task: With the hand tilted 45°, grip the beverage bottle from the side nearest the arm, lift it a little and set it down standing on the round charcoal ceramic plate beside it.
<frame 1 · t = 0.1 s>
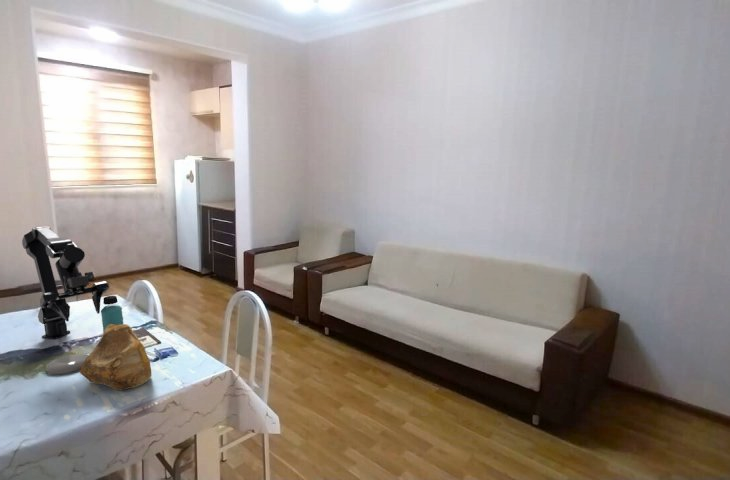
hand: (83, 317, 138), 15 cm above the table, tool tilted 35°, fingers open, 9 cm apart
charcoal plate: (69, 365, 136), on the table
chocolate bar: (139, 340, 157), on the table
rough brown rock: (115, 380, 128), on the table
beverage bottle: (115, 351, 147), on the table, touching gripper
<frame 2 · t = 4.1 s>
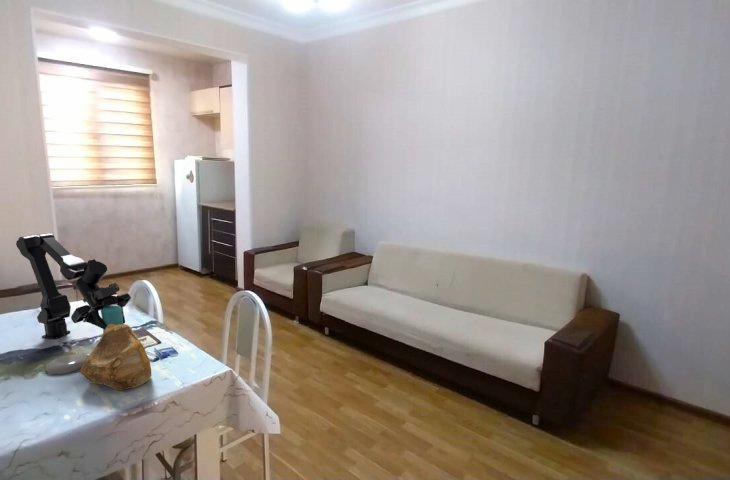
hand: (115, 326, 144), 10 cm above the table, tool tilted 45°, fingers closed on beverage bottle, 6 cm apart
beverage bottle: (116, 351, 147), on the table, touching gripper
everything else where it was.
when the fingers open (12 cm above the table, at t = 8.4 s): beverage bottle stays where it is, resting on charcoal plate.
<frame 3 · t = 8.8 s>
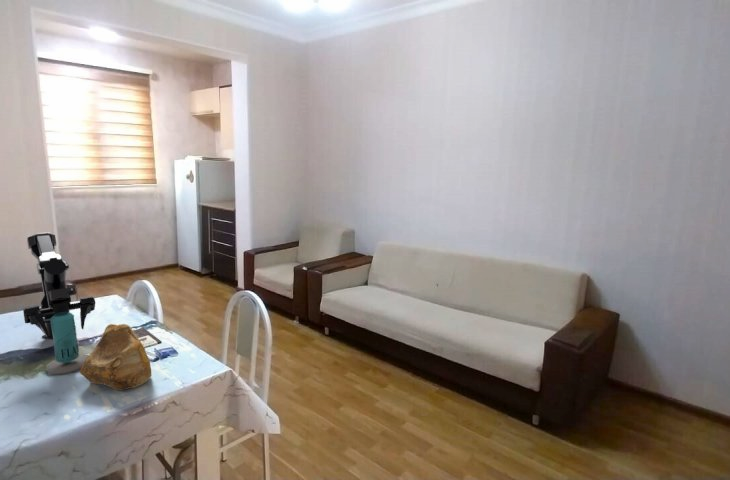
hand: (65, 332, 133), 12 cm above the table, tool tilted 45°, fingers open, 9 cm apart
beverage bottle: (68, 362, 136), point 1 cm above the table, touching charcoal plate
everything else where it was.
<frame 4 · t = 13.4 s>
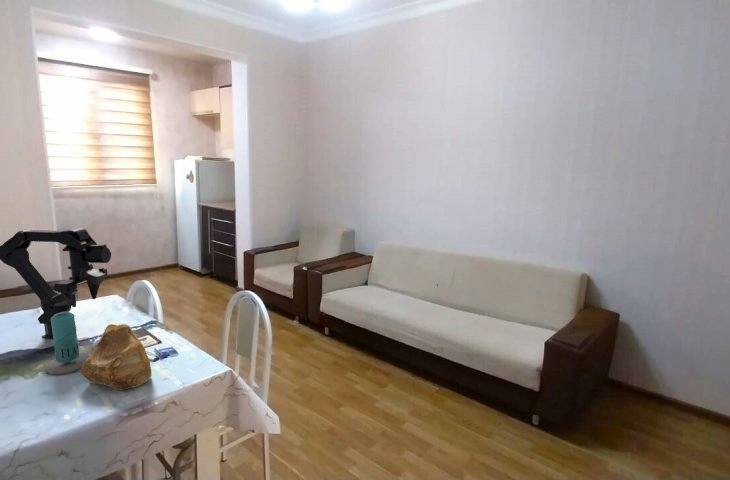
hand: (84, 302, 157), 13 cm above the table, tool pointing down, fingers open, 9 cm apart
nothing on the table moved.
at the end: beverage bottle 0.3 cm from the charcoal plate (horizontally); beverage bottle tilted 0°; the gripper is holding nothing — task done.
